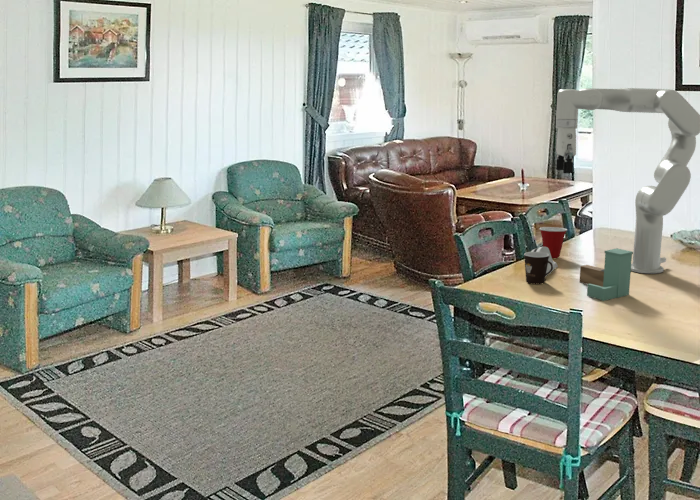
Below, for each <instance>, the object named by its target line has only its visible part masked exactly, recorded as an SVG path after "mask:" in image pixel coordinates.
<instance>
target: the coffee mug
mask: <svg viewBox="0 0 700 500" xmlns="http://www.w3.org/2000/svg"><path fill="white" fill-rule="evenodd" d="M523 256H524V257H523V258H524V270H525V271H524V272H525V281H526V283H527V282H528V284H530V283H532V285H541V284H542V283H543V284H545V283H546V275H548V274H549V273H550V272H551V271H552V270H553V265H552V263H551V262H550V261H548V259H549V254H547V253H543V252H531V251H528V252H527V251H526V252H525V253H524V254H523ZM548 263H549V264H550V265H551V270H550V271H549V272H548V273H546V271H547V265H548ZM550 274H551V273H550ZM550 274H549V275H550ZM549 275H548V276H549Z"/></svg>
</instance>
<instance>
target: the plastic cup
mask: <svg viewBox="0 0 700 500" xmlns="http://www.w3.org/2000/svg"><path fill="white" fill-rule="evenodd" d="M539 231H540V236H541V243H542V247H548V248H549V251H550V254H551V257H552V258H556V259H559V258H560V256H561V251H562V248H563V244H564V239H565V236H566V233H567V231H568V229H567V228H564V227H558V226H557V227H553V226H552V227H550V226H543V227H539ZM558 257H559V258H558Z"/></svg>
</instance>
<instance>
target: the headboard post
mask: <svg viewBox="0 0 700 500" xmlns="http://www.w3.org/2000/svg"><path fill="white" fill-rule="evenodd" d="M604 254H605V255H604V267H603V269H604V281H603V287H601V286H597V285H594V284H587V285H586V287H587V288H586V289H587V290H586V296H587V297H591V298H594V299H598V300H600V301H603V302H605V301H608V300H612V299H617V298H621V297H626V296H629V295H630V285H631V273H632V271H631V264H632V262H633V251H631V250H627V249H622V248H617V247H616V248H612V249H607V250H604Z"/></svg>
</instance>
